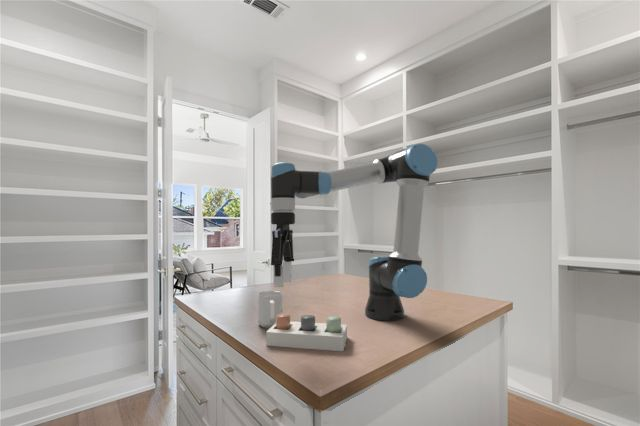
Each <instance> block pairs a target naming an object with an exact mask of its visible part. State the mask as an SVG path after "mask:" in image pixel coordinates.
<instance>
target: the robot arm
mask: <svg viewBox="0 0 640 426" xmlns="http://www.w3.org/2000/svg"><path fill="white" fill-rule="evenodd" d="M437 167H438V156H437V154H436V152H435V151H433V149H432V147H430V146H429V145H427V144H424V143H416V144H411V145H409V146H407V147H406V148H403V149H401V150H398V151H396V152H394V153H391V154H390V155H388V156H385V157H382V158H378V159H374V160H373V162H372V163H367V164H363V165H356V166H352V167H347V168H343V169H335V170H332V171H320V170H319V171H316V170H315V171H314V170H312V171H311V170H308V171H307V170H297V169H296V166H295V164H294V163H291V162H276V163H274V164H273V165H272V166H271V174H270V175H271V176H270V185H271V186H270V191H271V192H270V193H271V196H270V197H271V201H270V202H269V204H270V206H271V208H270V209H271V210H270V211H272V212H271V214H270V219H271V220H270V223H271V224H272V225H276V227H275V230H272V231H271V233H272V234H271V236H272V241H271V243H272V245H271V260H270V265H271V266H273V288H284V283H292V262H295V258H294V245H293V244H294V242H293V241H294V240H293V232H294V231H293V229H291V228H290V225H295V223H296V213H295V211H296V198H298V199H306V198H310V197H315V196H318V195H319V196H321V195H322V196H323V195H328V194H330V193H331V192H336V191H341V190H346V189H349V188H350V189H351V188H354V187H355V188H356V187H359V186H365V185H367V184H368V185H369V184H373V183H377V184H379V185H380V184H384V183H392V182H393V183H394V182H395V183H396V185H398V186H399V190H398V191H399V192H398V198H397V199H398V200H397V208H396V209H397V210H396V217H395V218H396V219H395V220H396V221H395V231H394V239H393V242H394V243H393V251H392V252H391V253H390V254H389V255H388V256H377V257H376V256H375V257H371V258H369V261H368V275H369V276H368V282H369V284H368V286H369V287H368V288H369V291H368V293H369V294H368V299H367V301H366V305H365V308H364V315H365V316H366V317H367V318H369V319H373V320H376V321H377V320H378V321H388V322H389V321H390V322H391V321H397V320H398V321H399V320H402V319H404V317H405V309H404V306H403V303H402V300H401V298H405V299H413V298H417V297H418V296H420V295H421V294H422V293H423V292H424V291H425V288H426V287H427V284H428V276H427V275H428V274H427V272H426V271H425V269H424V268H423V267H422V265H423V259H422V258H421V257H420V255H419V247H420V238H421V226H422V215H423V214H422V213H423V206H424V204H423V203H424V195H425V194H424V193H425V192H424V191H425V188H426V187H427V186H428V185H429V184H430V177H431V175H432V174H433V173H434V172H435V171H436V170H437Z"/></svg>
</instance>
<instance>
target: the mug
mask: <svg viewBox="0 0 640 426" xmlns="http://www.w3.org/2000/svg"><path fill="white" fill-rule="evenodd" d="M283 297H284V294H283V292H282V291H279V290H265V291H261V292H258V294H257V324H259V326H260V327H262V328H266V329H270V328H271V327H272V326H273V325H274V324H275V323H276V315H278V314H284V313H283V311H284V310H283V303H284V300H283Z"/></svg>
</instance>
